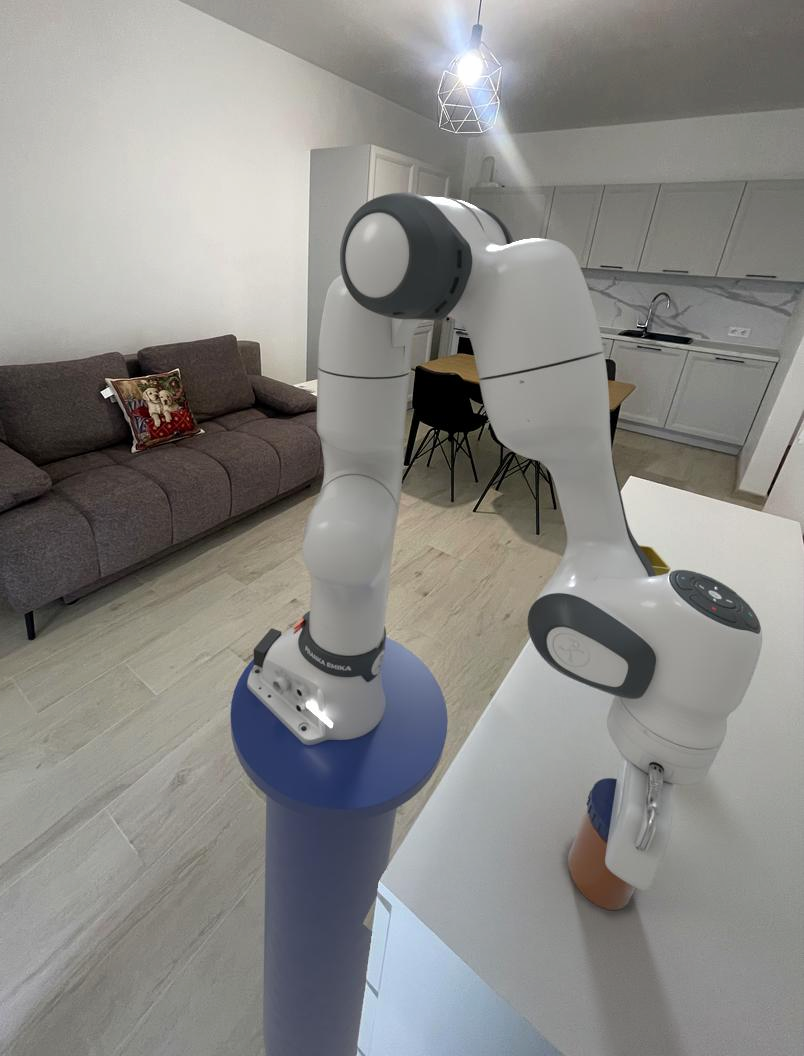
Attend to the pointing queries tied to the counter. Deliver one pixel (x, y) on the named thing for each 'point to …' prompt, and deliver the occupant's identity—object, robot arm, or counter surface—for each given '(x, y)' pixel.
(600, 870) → the jam jar
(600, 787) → the jar lid
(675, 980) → the counter surface
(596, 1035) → the counter surface
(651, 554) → the flower pot
